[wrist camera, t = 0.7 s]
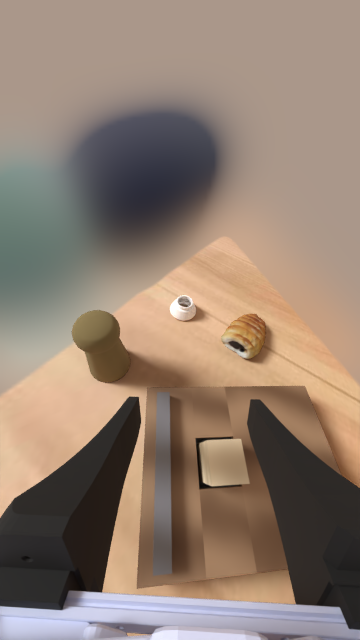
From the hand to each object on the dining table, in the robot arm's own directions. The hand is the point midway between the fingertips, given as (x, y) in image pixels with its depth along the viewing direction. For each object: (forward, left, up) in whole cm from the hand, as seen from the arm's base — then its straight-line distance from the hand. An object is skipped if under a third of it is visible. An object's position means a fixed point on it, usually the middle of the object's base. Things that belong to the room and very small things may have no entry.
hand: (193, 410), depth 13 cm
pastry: (+15, -13, -17) cm, 26 cm away
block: (-3, -4, -16) cm, 17 cm away
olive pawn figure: (+10, +10, -16) cm, 21 cm away
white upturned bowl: (+21, -2, -17) cm, 27 cm away
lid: (-3, -7, -13) cm, 15 cm away
